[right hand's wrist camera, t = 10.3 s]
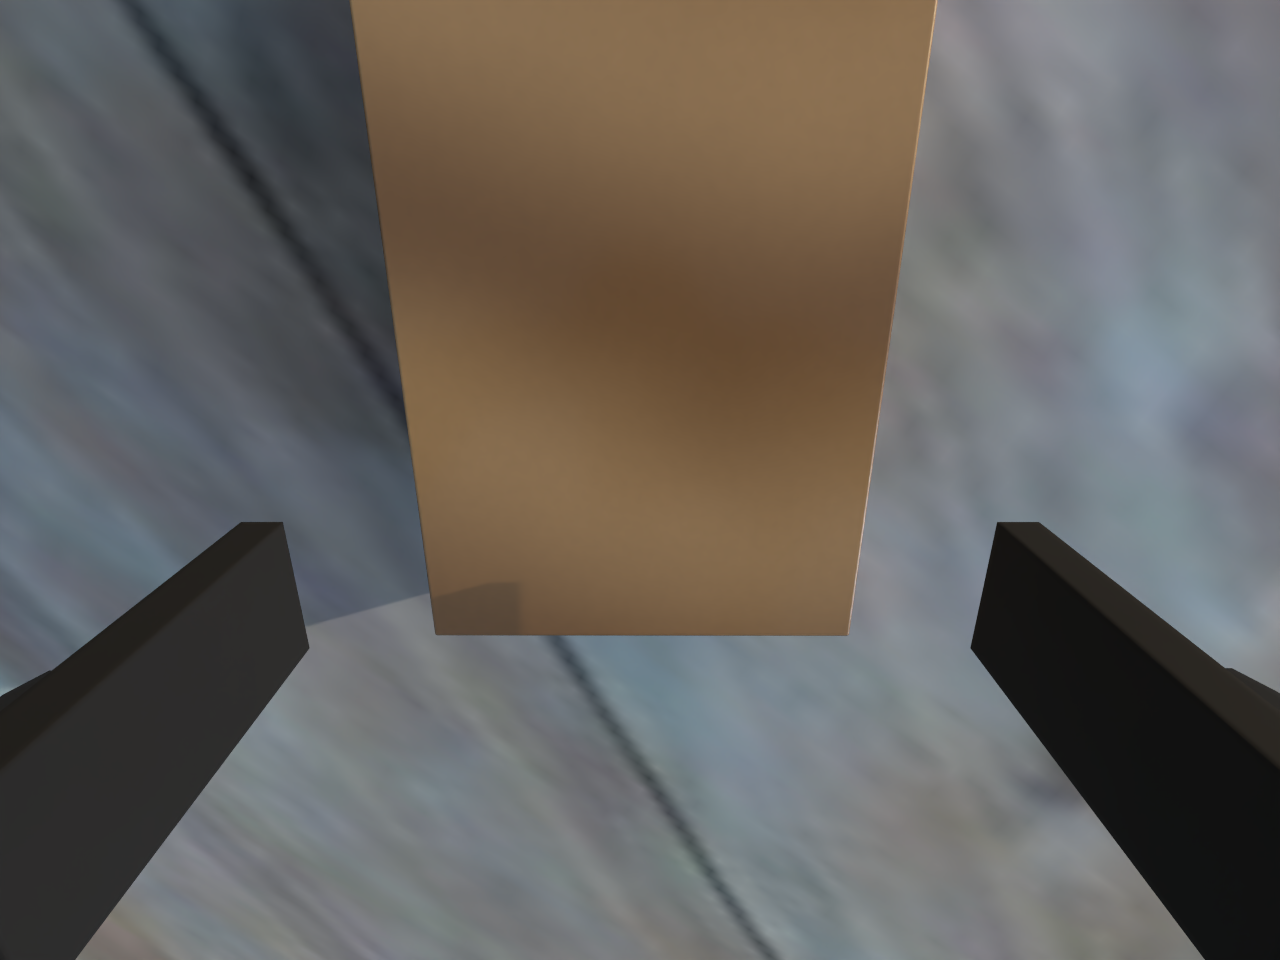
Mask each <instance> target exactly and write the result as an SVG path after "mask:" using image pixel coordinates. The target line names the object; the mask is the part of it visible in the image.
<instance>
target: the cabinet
mask: <svg viewBox="0 0 1280 960" xmlns="http://www.w3.org/2000/svg"><path fill="white" fill-rule="evenodd" d="M349 1H350V9H351V16H352V24H353V31H354V38H355V46H356V53H357V60H358V68H359V75H360V82H361V90H362V97H363V105H364V112H365V119H366V127H367V134H368V141H369V149H370V156H371V163H372V171H373V178H374V186H375V193H376V200H377V208H378V215H379V222H380V230H381V237H382V244H383V252H384V259H385V267H386V274H387V281H388V289H389V296H390V303H391V311H392V318H393V326H394V333H395V340H396V348H397V355H398V362H399V370H400V377H401V384H402V392H403V399H404V407H405V414H406V421H407V429H408V436H409V443H410V451H411V458H412V465H413V473H414V480H415V488H416V495H417V502H418V510H419V517H420V524H421V532H422V539H423V546H424V554H425V561H426V569H427V576H428V583H429V591H430V598H431V605H432V613H433V620H434V627H435V634H436V635H739V636H847V635H848V634H849V630H850V623H851V615H852V608H853V601H854V594H855V587H856V580H857V573H858V565H859V558H860V551H861V544H862V537H863V530H864V523H865V516H866V508H867V501H868V494H869V487H870V480H871V473H872V466H873V458H874V451H875V444H876V437H877V430H878V423H879V416H880V409H881V401H882V394H883V387H884V380H885V373H886V366H887V359H888V351H889V344H890V337H891V330H892V323H893V316H894V309H895V302H896V294H897V287H898V280H899V273H900V266H901V259H902V252H903V244H904V237H905V230H906V223H907V216H908V209H909V202H910V194H911V187H912V180H913V173H914V166H915V159H916V152H917V145H918V137H919V130H920V123H921V116H922V109H923V102H924V95H925V87H926V80H927V73H928V66H929V59H930V52H931V45H932V38H933V30H934V23H935V16H936V9H937V2H938V0H349Z"/></svg>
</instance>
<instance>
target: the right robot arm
mask: <svg viewBox="0 0 1280 960" xmlns="http://www.w3.org/2000/svg"><path fill="white" fill-rule="evenodd" d="M308 649H309V644H308V639H307V634H306V629H305V625H304V620H303V615H302V611H301V606H300V601H299V597H298V592H297V587H296V582H295V578H294V573H293V568H292V564H291V559H290V554H289V549H288V545H287V540H286V535H285V531H284V526H283V522H241V523H239V524H238V525H237V526H236V527H234V528H233V529H232V530H230V531H229V532H228V533H227V534H225V535H224V536H223V537H222V538H220V539H219V540H218V541H216V542H215V543H214V544H213V545H211V546H210V547H209V548H208V549H206V550H205V551H204V552H202V553H201V554H200V555H199V556H197V557H196V558H195V559H194V560H192V561H191V562H190V563H188V564H187V565H186V566H185V567H183V568H182V569H181V570H180V571H178V572H177V573H176V574H174V575H173V576H172V577H171V578H169V579H168V580H167V581H166V582H164V583H163V584H162V585H160V586H159V587H158V588H157V589H155V590H154V591H153V592H152V593H150V594H149V595H148V596H146V597H145V598H144V599H143V600H141V601H140V602H139V603H138V604H136V605H135V606H134V607H132V608H131V609H130V610H129V611H127V612H126V613H125V614H123V615H122V616H121V617H120V618H118V619H117V620H116V621H115V622H113V623H112V624H111V625H109V626H108V627H107V628H106V629H104V630H103V631H102V632H101V633H99V634H98V635H97V636H95V637H94V638H93V639H92V640H90V641H89V642H88V643H87V644H85V645H84V646H83V647H81V648H80V649H79V650H78V651H76V652H75V653H74V654H73V655H71V656H70V657H69V658H67V659H66V660H65V661H64V662H62V663H61V664H60V665H59V666H57V667H56V668H55V669H53V670H52V671H48V672H46V673H44V674H42V675H40V676H38V677H36V678H34V679H32V680H30V681H28V682H27V683H25V684H23V685H21V686H19V687H17V688H15V689H13V690H11V691H9V692H7V693H5V694H4V695H2V696H1V697H0V960H75V959H76V958H77V956H78V955H79V954H80V952H81V951H82V950H83V948H84V947H85V946H86V944H87V943H88V942H89V940H90V939H91V938H92V936H93V935H94V934H95V932H96V931H97V930H98V928H99V927H100V926H101V925H102V923H103V922H104V921H105V919H106V918H107V917H108V915H109V914H110V913H111V911H112V910H113V909H114V907H115V906H116V905H117V903H118V902H119V901H120V899H121V898H122V897H123V895H124V894H125V893H126V891H127V890H128V889H129V887H130V886H131V885H132V883H133V882H134V881H135V879H136V878H137V877H138V875H139V874H140V873H141V871H142V870H143V869H144V867H145V866H146V865H147V863H148V862H149V861H150V859H151V858H152V857H153V855H154V854H155V853H156V851H157V850H158V849H159V847H160V846H161V845H162V843H163V842H164V841H165V839H166V838H167V837H168V835H169V834H170V833H171V831H172V830H173V829H174V827H175V826H176V825H177V823H178V822H179V821H180V820H181V818H182V817H183V816H184V814H185V813H186V812H187V810H188V809H189V808H190V806H191V805H192V804H193V802H194V801H195V800H196V798H197V797H198V796H199V794H200V793H201V792H202V790H203V789H204V788H205V786H206V785H207V784H208V782H209V781H210V780H211V778H212V777H213V776H214V774H215V773H216V772H217V770H218V769H219V768H220V766H221V765H222V764H223V762H224V761H225V760H226V758H227V757H228V756H229V754H230V753H231V752H232V750H233V749H234V748H235V746H236V745H237V744H238V742H239V741H240V740H241V738H242V737H243V736H244V734H245V733H246V732H247V730H248V729H249V728H250V726H251V725H252V724H253V722H254V721H255V720H256V719H257V717H258V716H259V715H260V713H261V712H262V711H263V709H264V708H265V707H266V705H267V704H268V703H269V701H270V700H271V699H272V697H273V696H274V695H275V693H276V692H277V691H278V689H279V688H280V687H281V685H282V684H283V683H284V681H285V680H286V679H287V677H288V676H289V675H290V673H291V672H292V671H293V669H294V668H295V667H296V665H297V664H298V663H299V661H300V660H301V659H302V657H303V656H304V655H305V653H306V652H307V651H308ZM971 649H972V651H973V652H974V653H975V655H976V656H977V657H978V659H979V660H980V661H981V663H982V664H983V665H984V667H985V668H986V669H987V671H988V672H989V673H990V675H991V676H992V677H993V679H994V680H995V681H996V683H997V684H998V685H999V687H1000V688H1001V689H1002V691H1003V692H1004V693H1005V695H1006V696H1007V697H1008V699H1009V700H1010V701H1011V703H1012V704H1013V705H1014V707H1015V708H1016V709H1017V711H1018V712H1019V713H1020V715H1021V716H1022V717H1023V719H1024V720H1025V721H1026V722H1027V724H1028V725H1029V726H1030V728H1031V729H1032V730H1033V732H1034V733H1035V734H1036V736H1037V737H1038V738H1039V740H1040V741H1041V742H1042V744H1043V745H1044V746H1045V748H1046V749H1047V750H1048V752H1049V753H1050V754H1051V756H1052V757H1053V758H1054V760H1055V761H1056V762H1057V764H1058V765H1059V766H1060V768H1061V769H1062V770H1063V772H1064V773H1065V774H1066V776H1067V777H1068V778H1069V780H1070V781H1071V782H1072V784H1073V785H1074V786H1075V788H1076V789H1077V790H1078V792H1079V793H1080V794H1081V796H1082V797H1083V798H1084V800H1085V801H1086V802H1087V804H1088V805H1089V806H1090V808H1091V809H1092V810H1093V812H1094V813H1095V814H1096V816H1097V817H1098V818H1099V820H1100V821H1101V822H1102V824H1103V825H1104V826H1105V827H1106V829H1107V830H1108V831H1109V833H1110V834H1111V835H1112V837H1113V838H1114V839H1115V841H1116V842H1117V843H1118V845H1119V846H1120V847H1121V849H1122V850H1123V851H1124V853H1125V854H1126V855H1127V857H1128V858H1129V859H1130V861H1131V862H1132V863H1133V865H1134V866H1135V867H1136V869H1137V870H1138V871H1139V873H1140V874H1141V875H1142V877H1143V878H1144V879H1145V881H1146V882H1147V883H1148V885H1149V886H1150V887H1151V889H1152V890H1153V891H1154V893H1155V894H1156V895H1157V897H1158V898H1159V899H1160V901H1161V902H1162V903H1163V905H1164V906H1165V907H1166V909H1167V910H1168V911H1169V913H1170V914H1171V915H1172V917H1173V918H1174V919H1175V921H1176V922H1177V923H1178V925H1179V926H1180V927H1181V928H1182V930H1183V931H1184V932H1185V934H1186V935H1187V936H1188V938H1189V939H1190V940H1191V942H1192V943H1193V944H1194V946H1195V947H1196V948H1197V950H1198V951H1199V952H1200V954H1201V955H1202V956H1203V958H1204V959H1205V960H1280V693H1278V692H1277V691H1275V690H1273V689H1271V688H1269V687H1267V686H1265V685H1263V684H1261V683H1259V682H1257V681H1255V680H1253V679H1251V678H1250V677H1248V676H1246V675H1244V674H1242V673H1240V672H1238V671H1236V670H1234V669H1232V668H1224V667H1223V666H1221V665H1220V664H1219V663H1218V662H1216V661H1215V660H1214V659H1213V658H1211V657H1210V656H1209V655H1207V654H1206V653H1205V652H1204V651H1202V650H1201V649H1200V648H1199V647H1197V646H1196V645H1195V644H1193V643H1192V642H1191V641H1190V640H1188V639H1187V638H1186V637H1185V636H1183V635H1182V634H1181V633H1179V632H1178V631H1177V630H1176V629H1174V628H1173V627H1172V626H1171V625H1169V624H1168V623H1167V622H1165V621H1164V620H1163V619H1162V618H1160V617H1159V616H1158V615H1157V614H1155V613H1154V612H1153V611H1151V610H1150V609H1149V608H1148V607H1146V606H1145V605H1144V604H1142V603H1141V602H1140V601H1139V600H1137V599H1136V598H1135V597H1134V596H1132V595H1131V594H1130V593H1128V592H1127V591H1126V590H1125V589H1123V588H1122V587H1121V586H1120V585H1118V584H1117V583H1116V582H1114V581H1113V580H1112V579H1111V578H1109V577H1108V576H1107V575H1106V574H1104V573H1103V572H1102V571H1100V570H1099V569H1098V568H1097V567H1095V566H1094V565H1093V564H1092V563H1090V562H1089V561H1088V560H1086V559H1085V558H1084V557H1083V556H1081V555H1080V554H1079V553H1078V552H1076V551H1075V550H1074V549H1072V548H1071V547H1070V546H1069V545H1067V544H1066V543H1065V542H1064V541H1062V540H1061V539H1060V538H1058V537H1057V536H1056V535H1055V534H1053V533H1052V532H1051V531H1050V530H1048V529H1047V528H1046V527H1044V526H1043V525H1042V524H1041V523H1039V522H997V526H996V531H995V535H994V540H993V545H992V549H991V554H990V559H989V564H988V568H987V573H986V578H985V582H984V587H983V592H982V597H981V601H980V606H979V611H978V615H977V620H976V625H975V629H974V634H973V639H972V644H971Z"/></svg>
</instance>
